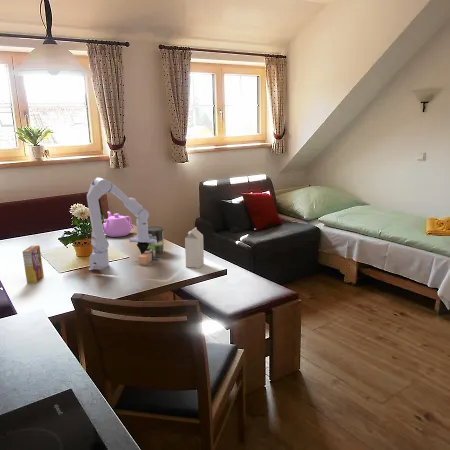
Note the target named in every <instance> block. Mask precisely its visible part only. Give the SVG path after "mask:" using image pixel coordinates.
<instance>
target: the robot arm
mask: <svg viewBox="0 0 450 450" xmlns="http://www.w3.org/2000/svg"><path fill="white" fill-rule="evenodd" d="M106 193H109V194H112V195H114V196H116V197H117V198H118V199H119V200H120V201H122V202H123V204H124V205H123V206H124V208H126V209H127V210H128V211H129V212H130V213H132V214H133V216H134V217H135V218H136V235H137V237H130V238H129V243H137V244H136V247H138V250H139V252H140V253H141V254H143V253H144V252H145V251H146V250H147V248H148V246H149V244H150V243H152V244H156V243H157V240H156V239H150V238H149V237H148V227H149V222H148V219H149V217H150V213H149V210H147V208H143V207H144V205H142V204H140V203H139V202H138V201H137V198H135V197H128V196H127V195H126V194H125V193H124V192H123V191H122V190H121V189H120V188H119V187H118V186H116V185H115V183H112V182H111V181H110V180H109V179H107V178H102V177H96V178H94V179H93V180H92V181H91V182H90V185H89V188H88V192H87V193H86V201H87V208H88V212H89V217H90V218H89V219H90V226H91V231H92V232H91V239H90V244H91V246H92V249H91V250H92V252H91V254H90V255H89V258H88V260H89V262H88V263H89V268H88V271H92V270H99V271H100V270H103V269H104V268H108V266H109V249H108V248H109V246H110V245H109V244H110V243H109V241H108V240H107V238H106V234H104V230H103V226H102V221H103V219H102V216H101V215H102V214H101V207H100V202H99V200H100V198H101V197H102V196H103V195H105V194H106ZM141 254H140V255H141Z"/></svg>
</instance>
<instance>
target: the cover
mask: <svg viewBox="0 0 450 450" xmlns="http://www.w3.org/2000/svg"><path fill="white" fill-rule="evenodd" d="M137 258H138V259H137V261H139V264H143V265H146V264H148V263H149V262H151V261H152V253H145V252H144V253H143V254H139V255H138V257H137Z"/></svg>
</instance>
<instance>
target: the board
mask: <svg viewBox="0 0 450 450" xmlns="http://www.w3.org/2000/svg"><path fill="white" fill-rule="evenodd" d="M162 258H163V257H162V256H158V255H156V258H155V259H152V261H151V262H149V263H148V264H146V265H143V264H139V261H138V260H137V261H136V262H134V263H133V264H131V265H132V266H142V267H143V266H144V267H151V266H152V265H154V264H155V263H156V262H158V261H159V260H160V259H162Z"/></svg>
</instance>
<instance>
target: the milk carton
mask: <svg viewBox="0 0 450 450" xmlns="http://www.w3.org/2000/svg"><path fill="white" fill-rule="evenodd" d="M187 234H188V235H187V236H185V238H184V248H185V249H184V250H185V251H184V253H185V254H184V255H185V267H186V268H193V269H195V268H196V269H200V268H201V267H202V266H203V265H204V264H205V263H204V262H205V259H204V257H205V256H204V234H203V233H201V232H200V231H199V230H198V229H197V227H196V226H195V227H194V228H193V229H192V230H189V231H188V232H187Z"/></svg>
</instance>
